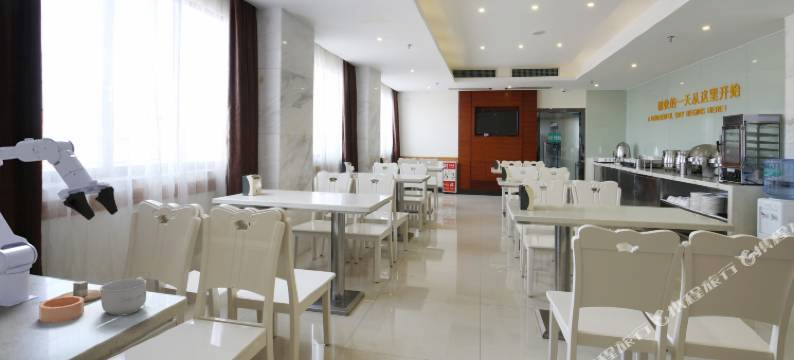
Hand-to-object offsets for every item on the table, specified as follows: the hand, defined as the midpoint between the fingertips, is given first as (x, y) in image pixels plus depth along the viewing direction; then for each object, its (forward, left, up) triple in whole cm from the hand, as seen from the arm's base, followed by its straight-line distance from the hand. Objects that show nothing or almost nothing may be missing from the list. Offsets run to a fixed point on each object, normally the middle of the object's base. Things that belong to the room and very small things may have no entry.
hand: (103, 215), depth 115 cm
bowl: (-5, -7, -26) cm, 28 cm away
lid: (-12, +5, -26) cm, 29 cm away
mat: (-12, +5, -26) cm, 29 cm away
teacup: (+6, +2, -27) cm, 28 cm away
